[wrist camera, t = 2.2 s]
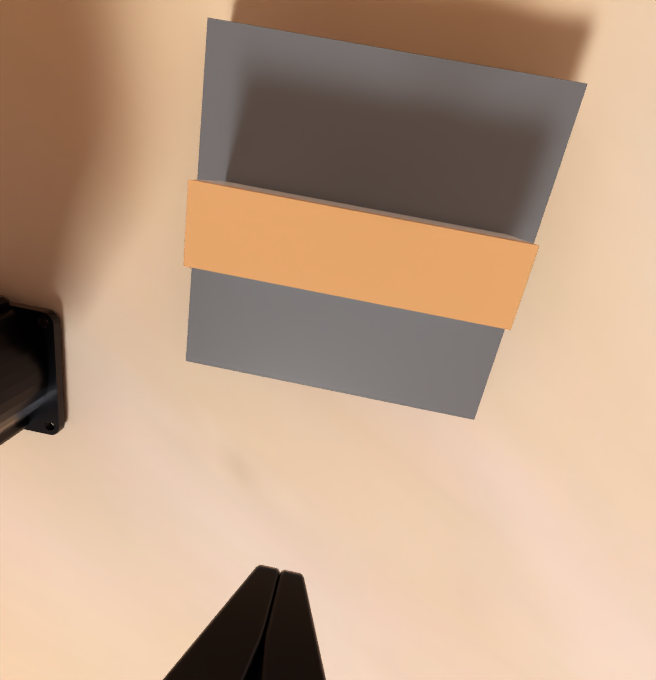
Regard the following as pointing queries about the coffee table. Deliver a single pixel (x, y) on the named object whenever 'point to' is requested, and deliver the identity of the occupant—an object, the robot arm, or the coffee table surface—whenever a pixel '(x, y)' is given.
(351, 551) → the coffee table surface
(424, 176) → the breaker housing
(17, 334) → the robot arm
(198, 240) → the knob
